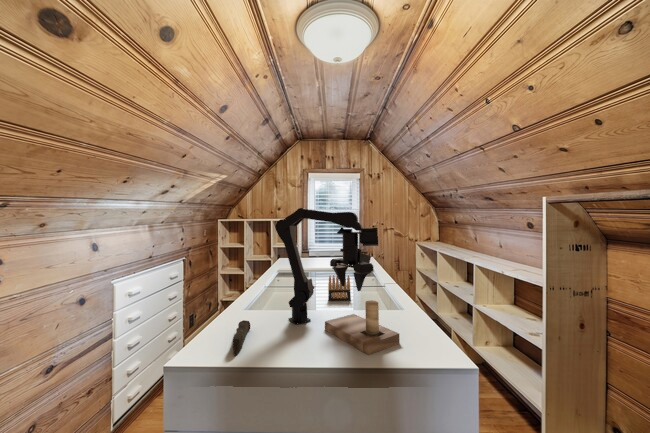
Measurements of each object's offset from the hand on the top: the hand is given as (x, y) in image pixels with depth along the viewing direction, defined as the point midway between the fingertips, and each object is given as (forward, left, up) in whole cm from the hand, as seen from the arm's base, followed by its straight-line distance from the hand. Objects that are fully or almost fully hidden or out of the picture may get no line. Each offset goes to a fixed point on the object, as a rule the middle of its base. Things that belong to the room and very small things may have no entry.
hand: (350, 288), depth 102 cm
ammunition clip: (-27, +14, -13) cm, 33 cm away
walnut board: (+10, -5, -13) cm, 17 cm away
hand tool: (-8, -38, -14) cm, 41 cm away
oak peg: (+16, -5, -13) cm, 21 cm away
